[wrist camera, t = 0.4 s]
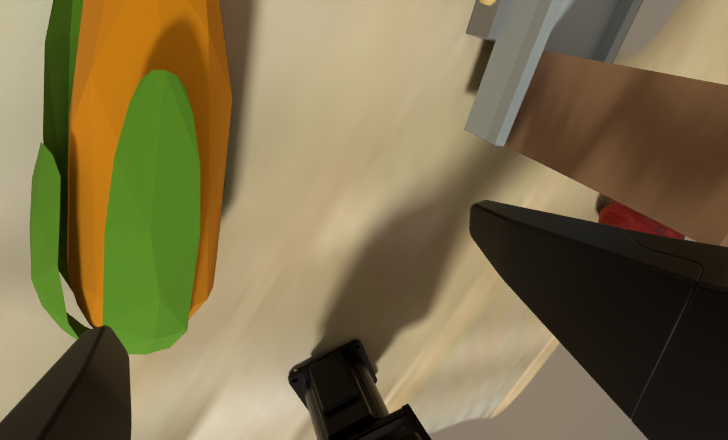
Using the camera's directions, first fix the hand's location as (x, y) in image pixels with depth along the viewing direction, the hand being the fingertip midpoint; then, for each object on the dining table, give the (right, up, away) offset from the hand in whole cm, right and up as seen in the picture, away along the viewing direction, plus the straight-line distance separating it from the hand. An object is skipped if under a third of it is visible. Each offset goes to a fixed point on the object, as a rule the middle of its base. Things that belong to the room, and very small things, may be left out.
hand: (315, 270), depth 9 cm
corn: (-9, +5, +9) cm, 14 cm away
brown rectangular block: (+11, +8, +12) cm, 18 cm away
